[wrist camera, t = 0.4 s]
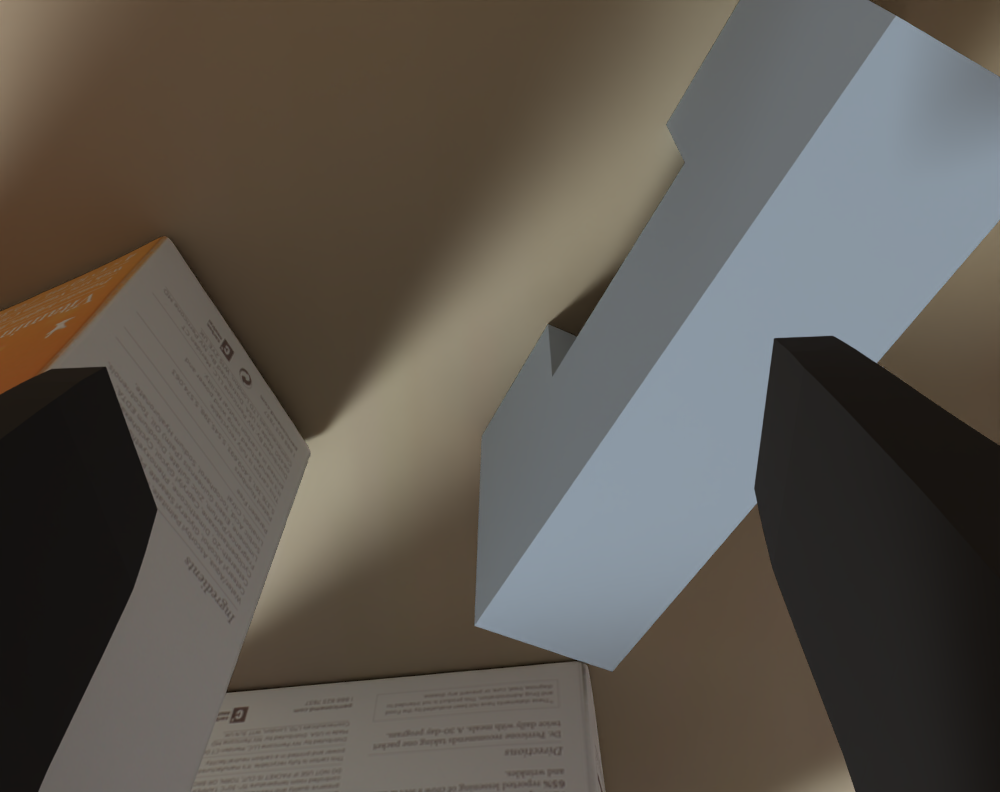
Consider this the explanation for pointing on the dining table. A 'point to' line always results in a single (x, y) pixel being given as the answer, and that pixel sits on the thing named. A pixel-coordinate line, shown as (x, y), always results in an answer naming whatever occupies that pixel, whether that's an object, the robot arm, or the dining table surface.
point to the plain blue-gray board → (729, 310)
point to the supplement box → (412, 735)
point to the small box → (167, 507)
